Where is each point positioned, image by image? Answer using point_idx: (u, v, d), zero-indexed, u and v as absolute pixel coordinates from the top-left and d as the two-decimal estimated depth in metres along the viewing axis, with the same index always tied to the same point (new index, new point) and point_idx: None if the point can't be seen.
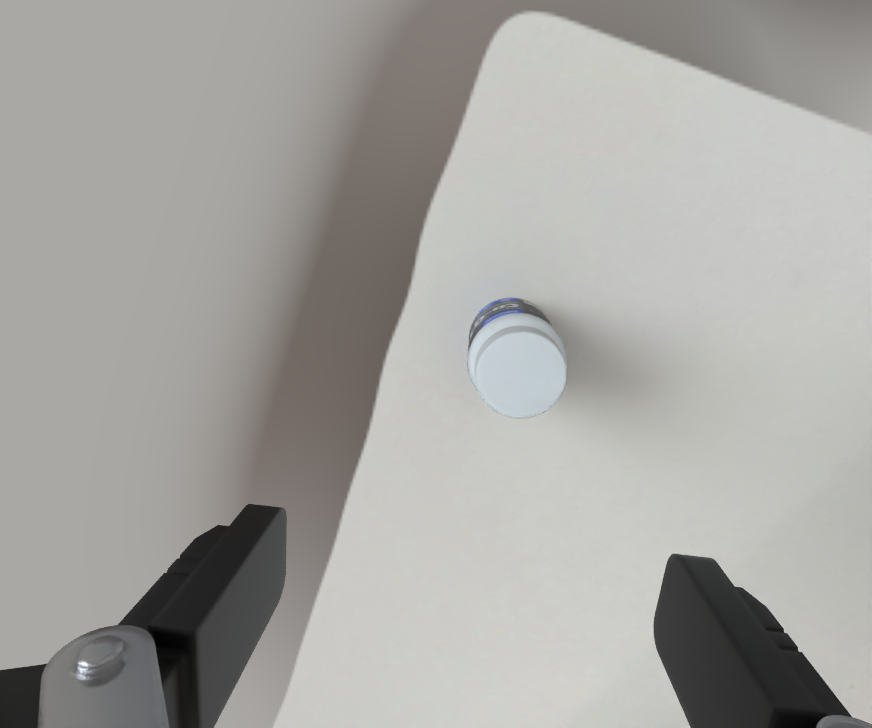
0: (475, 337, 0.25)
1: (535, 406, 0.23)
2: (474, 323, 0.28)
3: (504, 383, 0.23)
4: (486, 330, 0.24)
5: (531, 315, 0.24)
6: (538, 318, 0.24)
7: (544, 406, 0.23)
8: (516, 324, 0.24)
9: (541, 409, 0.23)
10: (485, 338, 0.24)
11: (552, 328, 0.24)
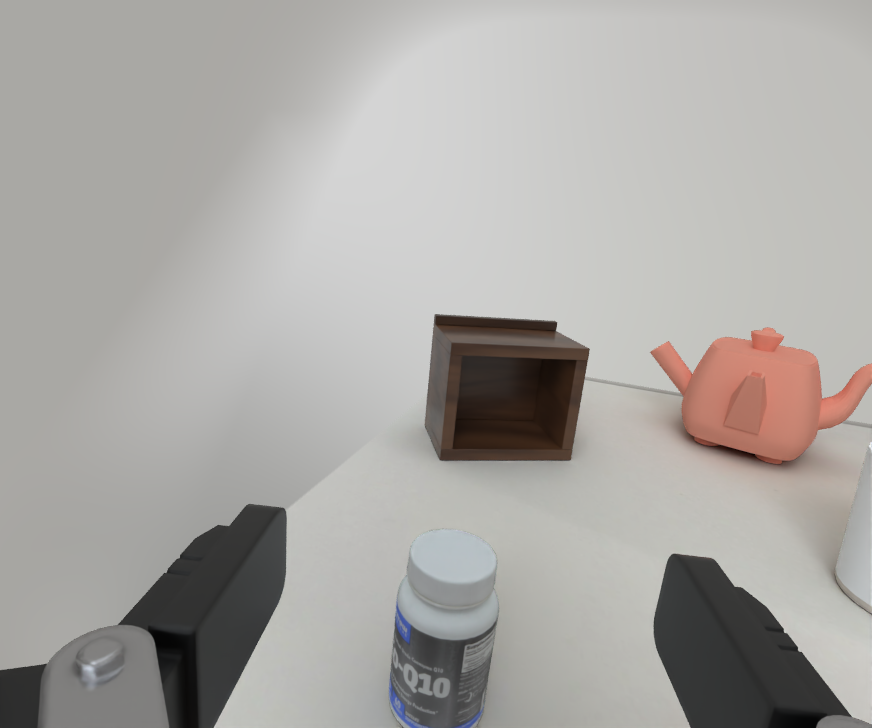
0: (422, 628, 0.22)
1: (482, 546, 0.24)
2: (415, 701, 0.23)
3: (461, 563, 0.23)
4: (413, 613, 0.23)
5: (399, 586, 0.25)
6: (403, 580, 0.25)
7: (481, 541, 0.25)
8: (407, 586, 0.24)
9: (484, 543, 0.24)
10: (421, 610, 0.22)
11: None
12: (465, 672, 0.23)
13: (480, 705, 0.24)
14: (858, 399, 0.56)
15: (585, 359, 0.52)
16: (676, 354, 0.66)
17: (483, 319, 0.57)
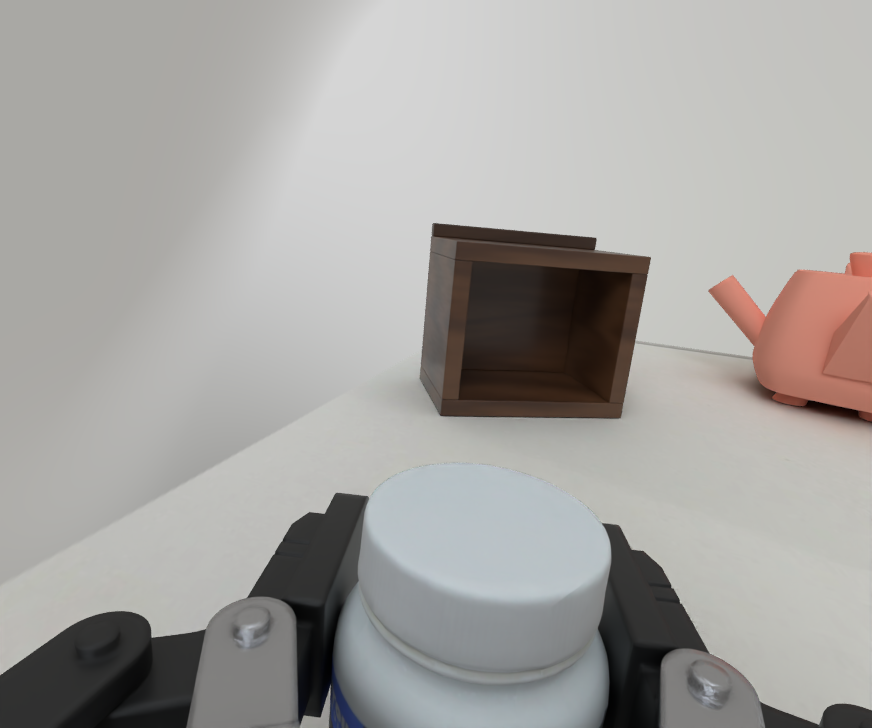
0: None
1: (559, 500, 0.09)
2: None
3: (512, 541, 0.08)
4: (369, 690, 0.08)
5: None
6: None
7: (553, 489, 0.10)
8: (360, 607, 0.09)
9: (563, 494, 0.09)
10: (395, 681, 0.07)
11: None
12: None
13: None
14: None
15: (644, 272, 0.37)
16: (744, 291, 0.52)
17: (498, 230, 0.42)
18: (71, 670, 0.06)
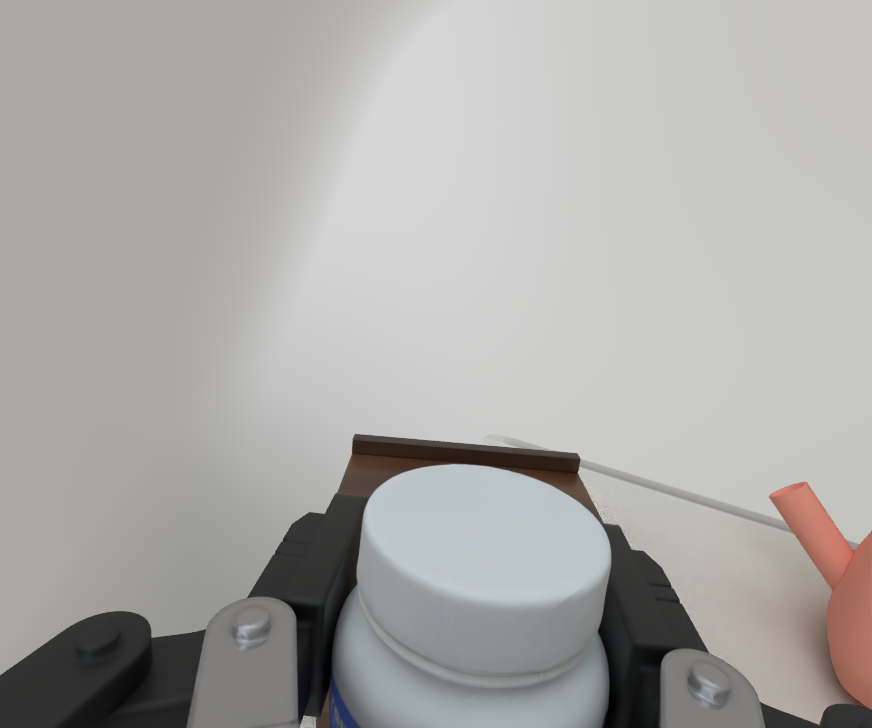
0: None
1: (559, 502, 0.09)
2: None
3: (512, 543, 0.08)
4: (368, 694, 0.07)
5: None
6: None
7: (553, 491, 0.10)
8: (358, 609, 0.09)
9: (562, 496, 0.09)
10: (394, 685, 0.07)
11: None
12: None
13: None
14: None
15: None
16: (821, 511, 0.36)
17: (439, 448, 0.32)
18: (71, 670, 0.06)
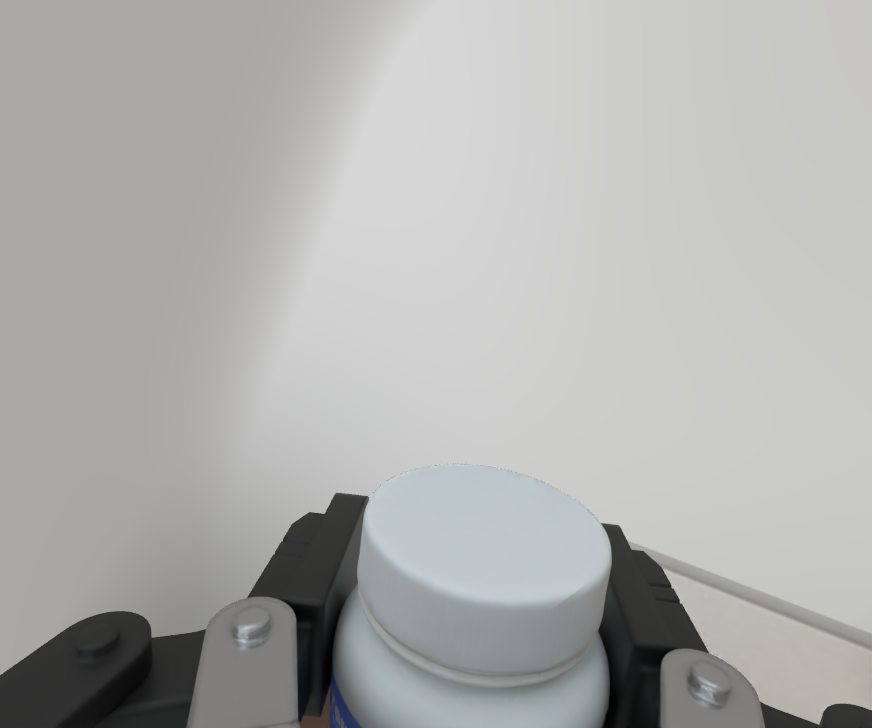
0: None
1: (559, 502, 0.09)
2: None
3: (512, 543, 0.08)
4: (369, 693, 0.07)
5: None
6: None
7: (553, 490, 0.10)
8: (359, 609, 0.09)
9: (563, 496, 0.09)
10: (395, 684, 0.07)
11: None
12: None
13: None
14: None
15: None
16: None
17: None
18: (71, 669, 0.06)
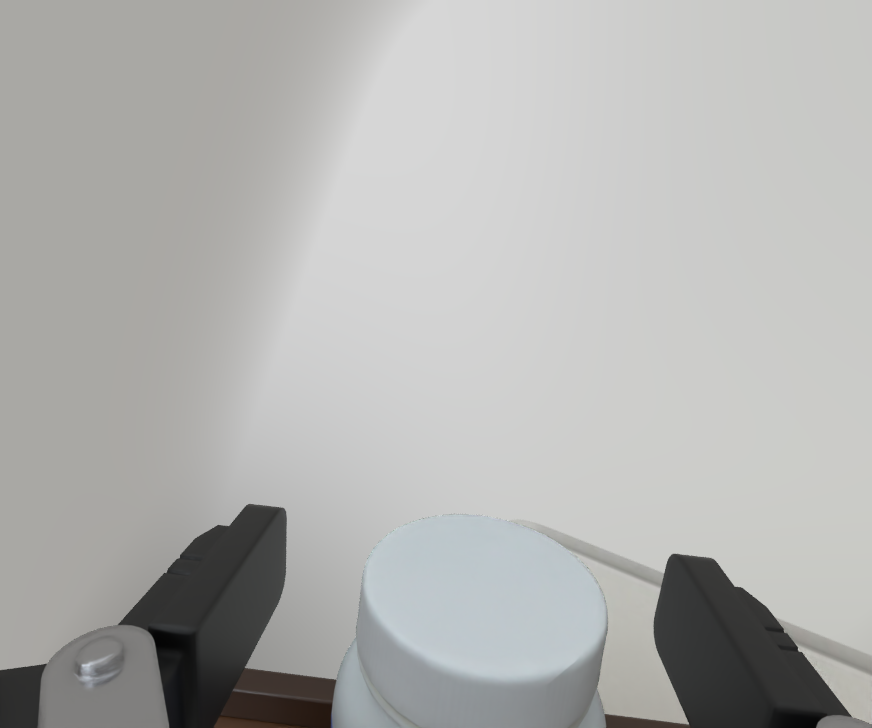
0: None
1: (556, 558, 0.09)
2: None
3: (509, 608, 0.08)
4: None
5: None
6: None
7: (551, 544, 0.10)
8: (358, 667, 0.09)
9: (560, 550, 0.10)
10: None
11: None
12: None
13: None
14: None
15: None
16: None
17: None
18: None
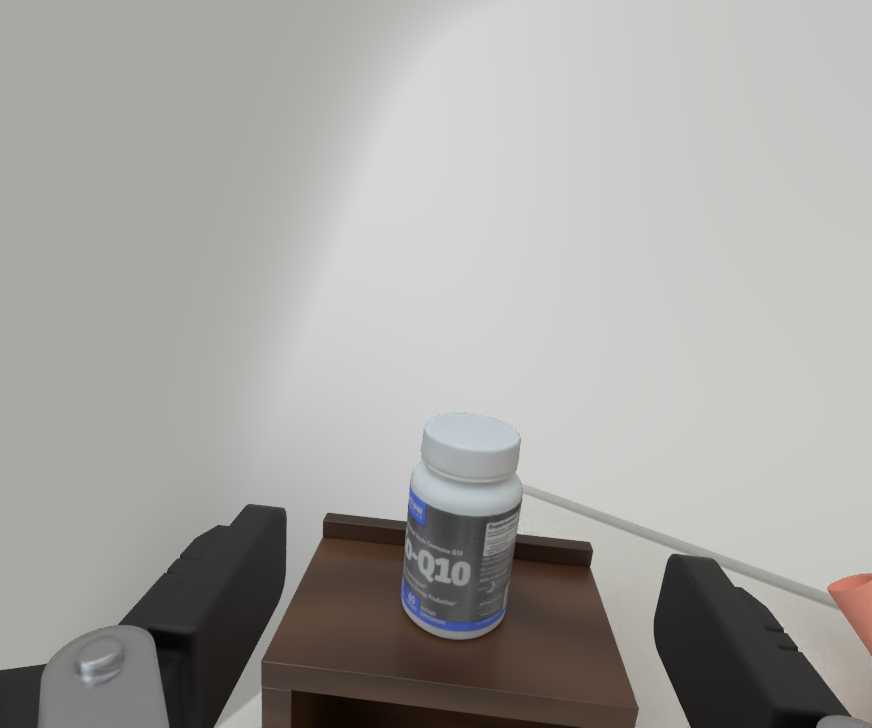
0: (439, 505, 0.20)
1: (503, 426, 0.22)
2: (431, 592, 0.21)
3: (481, 437, 0.21)
4: (428, 490, 0.20)
5: None
6: None
7: (501, 422, 0.22)
8: (421, 468, 0.22)
9: (505, 424, 0.22)
10: (438, 486, 0.20)
11: None
12: (487, 556, 0.20)
13: (503, 601, 0.22)
14: None
15: None
16: None
17: None
18: None
